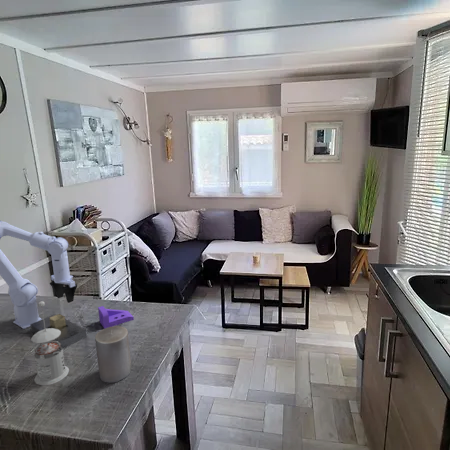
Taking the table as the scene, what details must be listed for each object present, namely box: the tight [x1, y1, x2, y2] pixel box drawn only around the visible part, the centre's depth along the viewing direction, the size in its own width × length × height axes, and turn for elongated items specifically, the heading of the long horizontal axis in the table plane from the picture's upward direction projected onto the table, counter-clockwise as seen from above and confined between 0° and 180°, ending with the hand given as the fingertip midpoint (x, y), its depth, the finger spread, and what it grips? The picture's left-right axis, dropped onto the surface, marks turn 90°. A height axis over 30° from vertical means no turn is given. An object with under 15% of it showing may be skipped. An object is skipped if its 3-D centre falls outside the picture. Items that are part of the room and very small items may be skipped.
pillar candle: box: [94, 325, 132, 384], centre depth 104 cm, size 10×10×15 cm
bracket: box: [97, 305, 135, 329], centre depth 138 cm, size 12×7×7 cm, turn 125°
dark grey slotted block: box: [30, 313, 87, 350], centre depth 129 cm, size 22×10×3 cm, turn 54°
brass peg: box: [49, 313, 66, 330], centre depth 129 cm, size 4×4×7 cm
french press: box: [30, 300, 70, 386], centre depth 104 cm, size 10×12×25 cm
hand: (65, 299), depth 138 cm, fingers open, 7 cm apart
